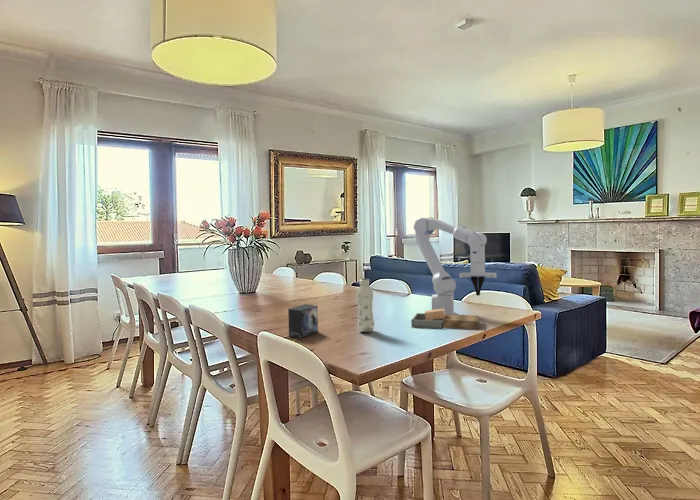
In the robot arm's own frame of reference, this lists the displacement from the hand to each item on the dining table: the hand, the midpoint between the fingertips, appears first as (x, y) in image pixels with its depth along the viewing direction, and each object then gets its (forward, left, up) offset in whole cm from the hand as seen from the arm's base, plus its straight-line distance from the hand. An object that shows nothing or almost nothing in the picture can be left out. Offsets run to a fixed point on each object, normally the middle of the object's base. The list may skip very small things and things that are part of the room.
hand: (478, 295), depth 180 cm
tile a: (-14, -13, -7) cm, 21 cm away
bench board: (-6, -13, -10) cm, 17 cm away
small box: (-62, -38, -10) cm, 73 cm away
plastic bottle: (-40, -30, -10) cm, 51 cm away
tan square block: (-17, -13, -7) cm, 22 cm away
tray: (-19, -13, -10) cm, 25 cm away
